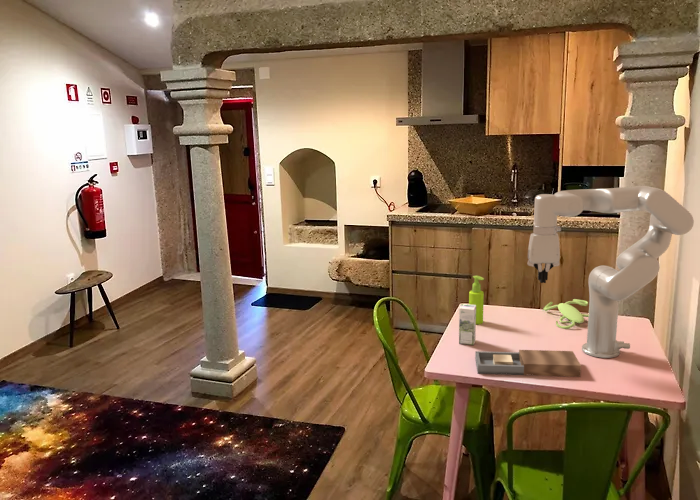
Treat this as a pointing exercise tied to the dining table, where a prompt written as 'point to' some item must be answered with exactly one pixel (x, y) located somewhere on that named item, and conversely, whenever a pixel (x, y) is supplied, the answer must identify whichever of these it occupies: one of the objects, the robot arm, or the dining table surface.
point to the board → (550, 363)
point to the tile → (502, 360)
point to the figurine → (569, 312)
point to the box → (487, 366)
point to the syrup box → (467, 324)
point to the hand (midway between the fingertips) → (542, 281)
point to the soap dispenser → (477, 299)
